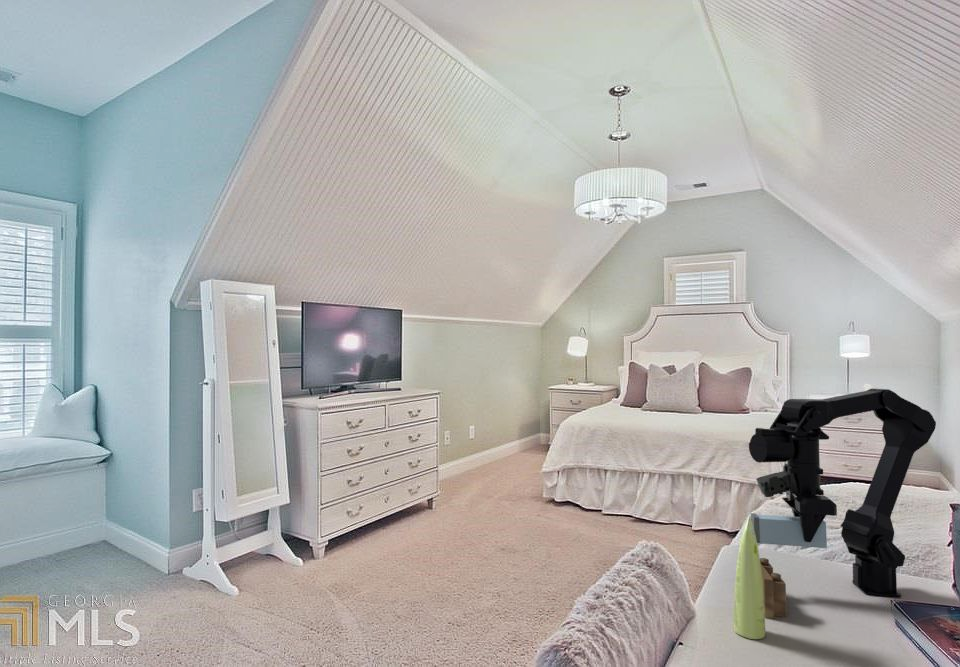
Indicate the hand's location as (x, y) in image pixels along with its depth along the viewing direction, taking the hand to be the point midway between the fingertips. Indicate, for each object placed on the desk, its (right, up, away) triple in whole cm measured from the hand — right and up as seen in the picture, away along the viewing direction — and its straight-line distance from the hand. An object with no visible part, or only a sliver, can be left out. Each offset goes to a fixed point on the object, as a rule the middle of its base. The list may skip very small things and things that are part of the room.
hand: (804, 539), depth 112 cm
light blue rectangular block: (-3, -1, +1) cm, 3 cm away
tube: (-19, -10, -17) cm, 28 cm away
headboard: (-10, -11, -4) cm, 15 cm away
